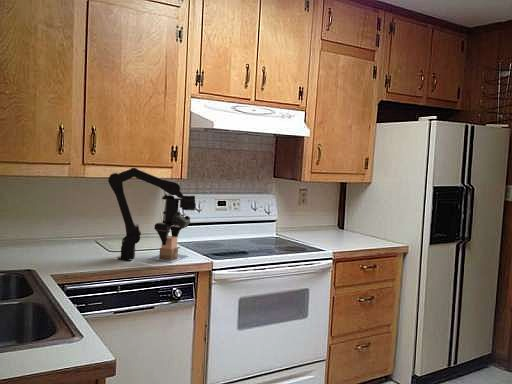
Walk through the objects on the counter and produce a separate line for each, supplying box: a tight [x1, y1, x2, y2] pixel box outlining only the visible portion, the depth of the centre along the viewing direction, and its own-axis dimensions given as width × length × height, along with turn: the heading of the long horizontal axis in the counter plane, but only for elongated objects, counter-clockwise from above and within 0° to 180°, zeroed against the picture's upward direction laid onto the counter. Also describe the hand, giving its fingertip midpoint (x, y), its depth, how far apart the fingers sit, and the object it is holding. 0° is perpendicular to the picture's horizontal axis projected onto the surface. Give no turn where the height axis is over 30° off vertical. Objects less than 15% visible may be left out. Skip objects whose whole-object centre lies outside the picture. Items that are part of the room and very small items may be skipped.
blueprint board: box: [146, 253, 190, 264], centre depth 225 cm, size 18×12×1 cm, turn 161°
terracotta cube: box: [160, 235, 178, 250], centre depth 222 cm, size 5×5×5 cm
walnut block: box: [158, 247, 179, 261], centre depth 223 cm, size 6×6×5 cm
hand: (169, 243), depth 222 cm, fingers open, 9 cm apart
